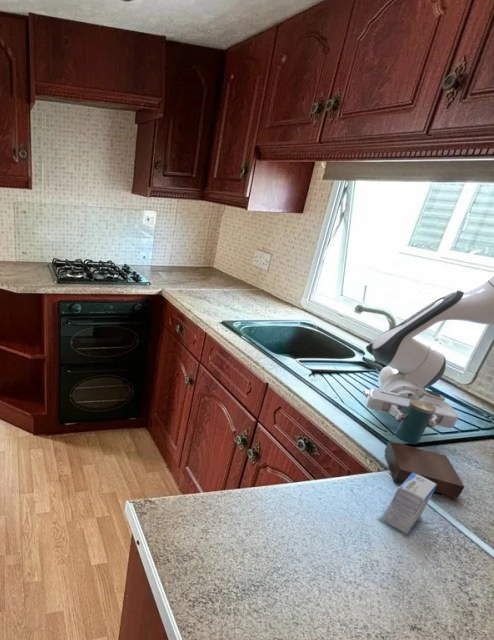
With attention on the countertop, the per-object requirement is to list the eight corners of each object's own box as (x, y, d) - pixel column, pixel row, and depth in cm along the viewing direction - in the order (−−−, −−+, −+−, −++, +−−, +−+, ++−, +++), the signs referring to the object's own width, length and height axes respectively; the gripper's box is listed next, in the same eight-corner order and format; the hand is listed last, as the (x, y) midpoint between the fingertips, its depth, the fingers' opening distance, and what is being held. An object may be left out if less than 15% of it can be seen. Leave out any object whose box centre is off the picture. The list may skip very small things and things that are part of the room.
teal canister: (415, 435, 105) (432, 402, 101) (421, 446, 101) (439, 412, 96) (392, 429, 107) (407, 397, 102) (396, 440, 102) (413, 406, 98)
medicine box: (406, 535, 76) (425, 500, 73) (381, 520, 79) (398, 486, 76) (419, 517, 81) (438, 484, 77) (395, 503, 84) (412, 471, 80)
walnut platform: (438, 468, 97) (446, 455, 95) (456, 501, 87) (464, 486, 85) (383, 453, 100) (389, 440, 99) (393, 483, 90) (400, 469, 88)
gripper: (366, 378, 114) (374, 400, 102) (450, 397, 108) (470, 422, 96) (358, 397, 117) (365, 421, 105) (440, 417, 111) (457, 444, 99)
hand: (416, 422), depth 101 cm, fingers closed on teal canister, 5 cm apart
